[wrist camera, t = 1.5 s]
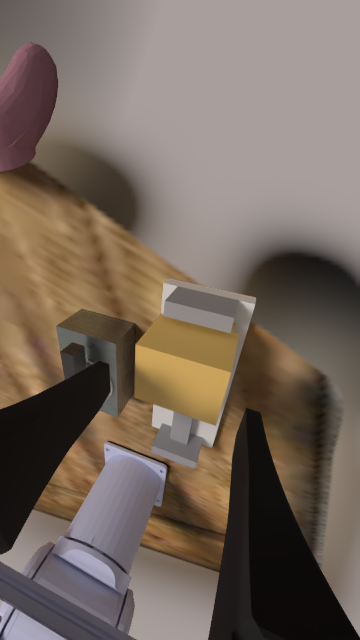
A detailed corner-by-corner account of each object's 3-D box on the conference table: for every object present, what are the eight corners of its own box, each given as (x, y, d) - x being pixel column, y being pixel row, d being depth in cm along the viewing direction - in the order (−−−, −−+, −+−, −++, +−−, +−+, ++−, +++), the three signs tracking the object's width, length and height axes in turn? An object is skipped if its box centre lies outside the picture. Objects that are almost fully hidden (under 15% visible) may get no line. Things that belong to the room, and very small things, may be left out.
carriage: (227, 371, 18) (215, 425, 14) (163, 352, 19) (134, 397, 15) (241, 324, 16) (231, 372, 12) (167, 305, 17) (135, 344, 13)
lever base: (133, 392, 24) (116, 420, 21) (89, 377, 25) (66, 401, 22) (134, 323, 20) (113, 346, 17) (81, 309, 21) (53, 327, 18)
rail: (213, 438, 23) (206, 473, 21) (155, 418, 25) (141, 448, 22) (256, 297, 16) (253, 322, 13) (168, 278, 17) (148, 296, 14)
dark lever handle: (94, 394, 20) (82, 409, 19) (77, 388, 20) (64, 402, 19) (89, 345, 17) (74, 359, 16) (70, 339, 18) (54, 352, 16)
